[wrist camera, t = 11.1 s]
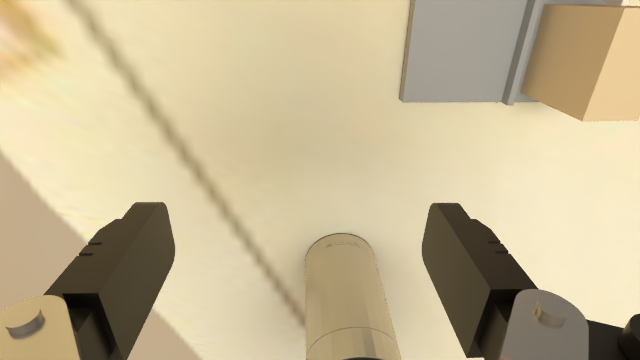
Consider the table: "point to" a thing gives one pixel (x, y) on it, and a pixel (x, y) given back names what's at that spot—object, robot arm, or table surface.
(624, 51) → the kraft carton
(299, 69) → the table surface
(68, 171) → the table surface
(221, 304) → the table surface
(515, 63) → the shelf board
